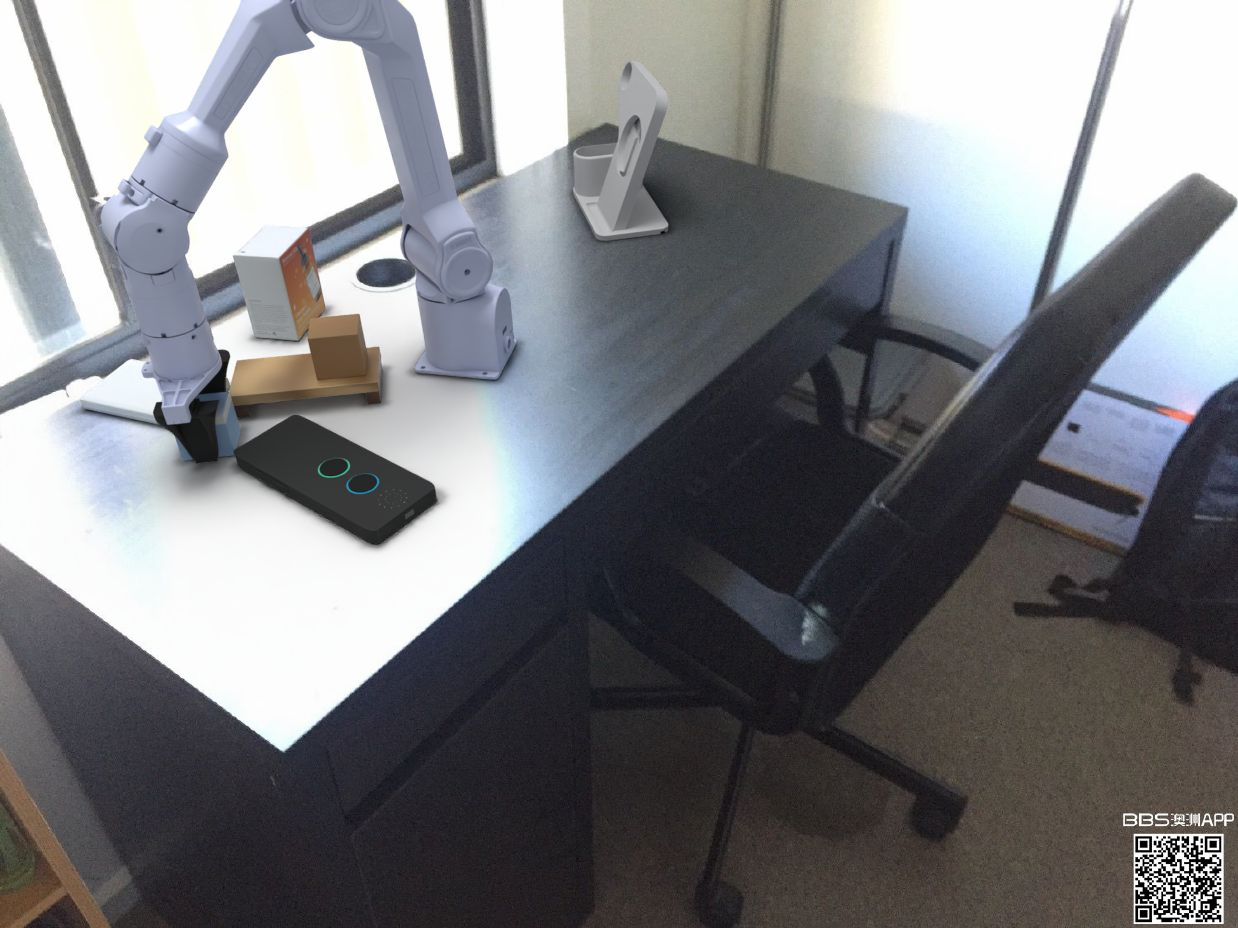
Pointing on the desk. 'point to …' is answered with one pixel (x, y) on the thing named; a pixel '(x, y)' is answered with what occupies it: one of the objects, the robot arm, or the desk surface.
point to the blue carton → (221, 425)
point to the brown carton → (337, 346)
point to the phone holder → (624, 163)
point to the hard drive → (126, 393)
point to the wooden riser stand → (298, 381)
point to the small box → (280, 281)
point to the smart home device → (336, 478)
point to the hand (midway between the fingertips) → (212, 441)
